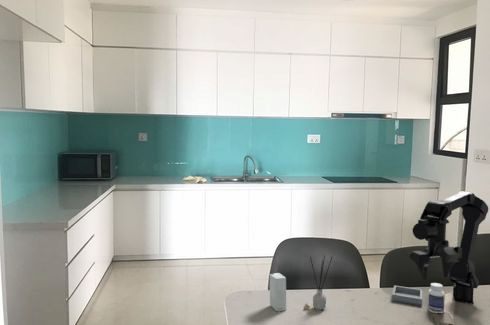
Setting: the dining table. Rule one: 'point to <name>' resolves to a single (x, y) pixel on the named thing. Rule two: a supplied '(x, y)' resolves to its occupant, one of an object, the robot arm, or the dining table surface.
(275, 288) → the skincare box
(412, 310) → the dining table surface
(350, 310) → the dining table surface
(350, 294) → the dining table surface
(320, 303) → the reed diffuser
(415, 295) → the tray
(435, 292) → the pill bottle
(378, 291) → the dining table surface
